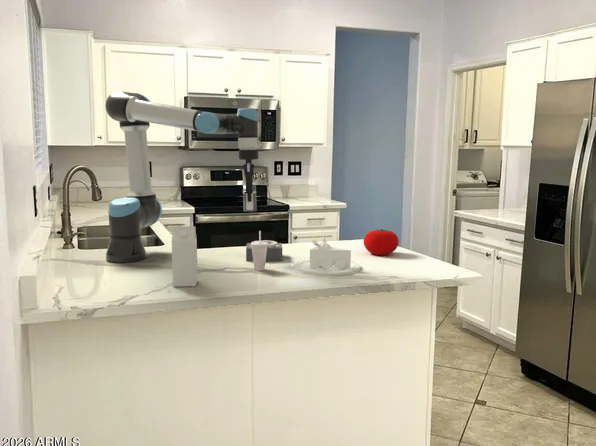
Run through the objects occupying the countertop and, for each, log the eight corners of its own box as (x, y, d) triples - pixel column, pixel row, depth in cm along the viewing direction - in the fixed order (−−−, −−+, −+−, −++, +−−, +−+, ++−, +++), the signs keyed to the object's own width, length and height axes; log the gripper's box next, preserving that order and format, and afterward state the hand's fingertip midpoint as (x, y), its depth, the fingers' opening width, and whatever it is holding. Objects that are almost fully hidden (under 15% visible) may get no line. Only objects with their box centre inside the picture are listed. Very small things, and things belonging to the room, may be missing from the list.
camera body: (246, 261, 215) (246, 245, 215) (246, 255, 226) (246, 240, 225) (282, 260, 216) (282, 245, 216) (281, 255, 227) (281, 240, 226)
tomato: (359, 255, 227) (360, 230, 226) (367, 249, 239) (368, 225, 238) (394, 258, 222) (395, 232, 221) (400, 252, 234) (401, 228, 232)
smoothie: (270, 268, 204) (270, 230, 202) (264, 272, 198) (264, 233, 196) (254, 266, 206) (254, 229, 204) (247, 270, 200) (247, 232, 198)
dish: (282, 272, 199) (282, 241, 197) (307, 258, 222) (307, 231, 220) (348, 279, 190) (349, 246, 188) (367, 264, 213) (368, 235, 211)
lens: (243, 212, 215) (242, 185, 213) (243, 210, 220) (242, 184, 218) (256, 211, 215) (256, 185, 214) (256, 210, 220) (256, 184, 219)
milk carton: (175, 281, 184) (174, 224, 182) (197, 281, 185) (196, 224, 182) (172, 287, 177) (171, 228, 175) (195, 286, 178) (194, 228, 175)
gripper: (257, 149, 205) (259, 211, 209) (258, 148, 223) (259, 206, 227) (237, 149, 205) (239, 212, 208) (239, 148, 223) (241, 206, 226)
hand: (250, 209), depth 217 cm, fingers closed on lens, 5 cm apart
